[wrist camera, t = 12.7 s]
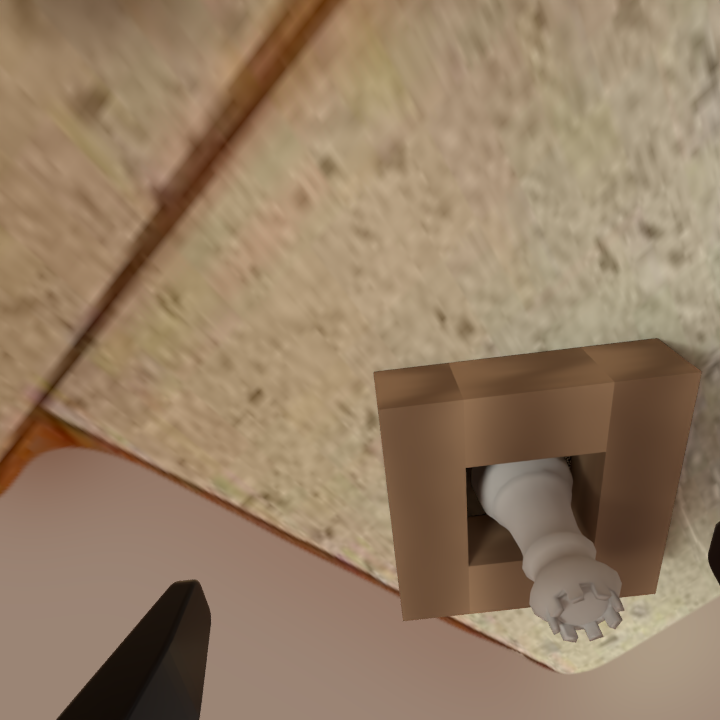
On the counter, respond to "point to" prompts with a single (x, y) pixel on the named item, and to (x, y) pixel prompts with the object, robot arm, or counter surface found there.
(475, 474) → the rook chess piece
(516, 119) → the counter surface
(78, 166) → the counter surface
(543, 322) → the counter surface
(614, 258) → the counter surface
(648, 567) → the walnut socket
